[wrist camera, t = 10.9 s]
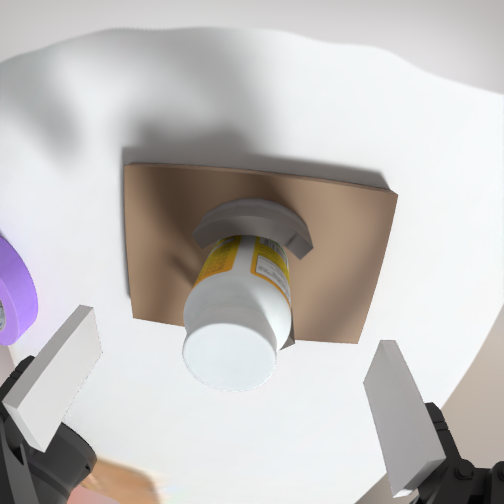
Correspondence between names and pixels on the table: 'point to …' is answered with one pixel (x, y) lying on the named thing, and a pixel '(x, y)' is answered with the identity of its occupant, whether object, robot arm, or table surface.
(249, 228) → the collar board
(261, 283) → the supplement bottle
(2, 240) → the masking tape
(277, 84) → the table surface
